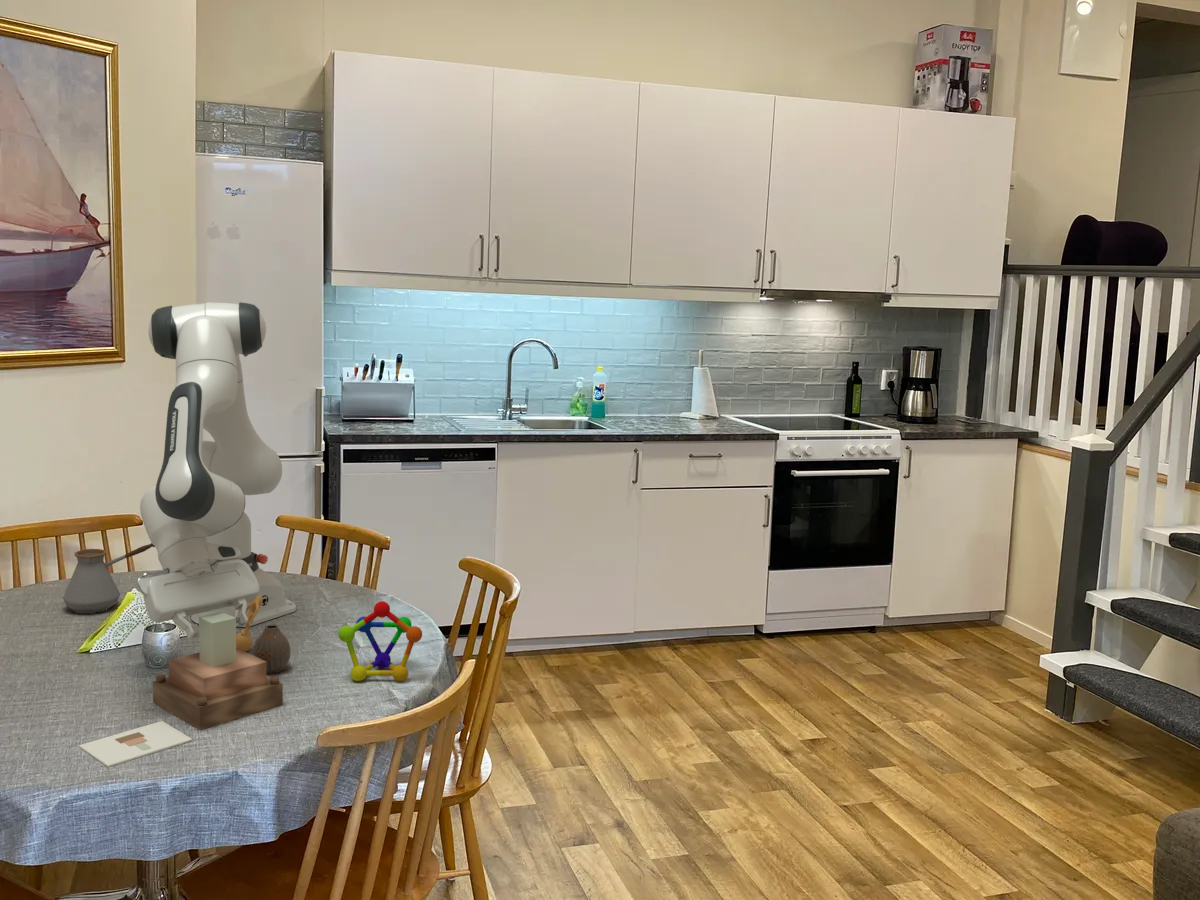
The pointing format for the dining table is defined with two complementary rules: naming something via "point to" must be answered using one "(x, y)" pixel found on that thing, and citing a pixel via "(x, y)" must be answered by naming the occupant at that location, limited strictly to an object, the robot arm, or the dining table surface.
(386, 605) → the educational toy
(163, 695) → the stacked wooden pedestal
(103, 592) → the coffee pot
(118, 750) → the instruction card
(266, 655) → the vase
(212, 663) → the upright grey-green brick
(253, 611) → the figurine
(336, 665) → the dining table surface
